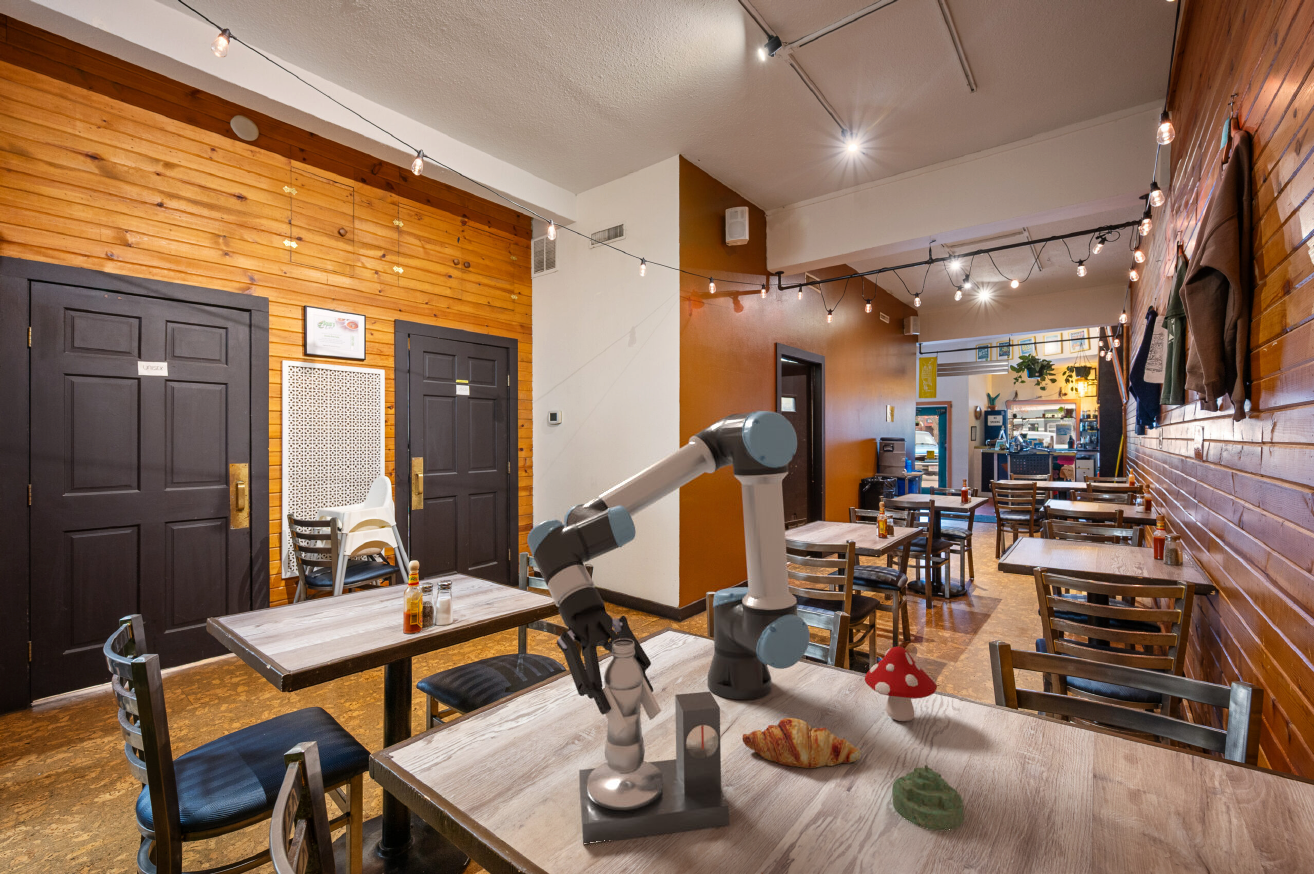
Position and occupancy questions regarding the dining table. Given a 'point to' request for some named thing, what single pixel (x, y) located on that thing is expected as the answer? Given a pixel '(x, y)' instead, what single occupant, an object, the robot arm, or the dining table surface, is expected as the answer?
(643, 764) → the scale pan
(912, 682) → the decorative mushroom
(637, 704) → the plastic bottle
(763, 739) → the croissant
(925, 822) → the decorative artifact
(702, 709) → the scale
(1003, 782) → the dining table surface
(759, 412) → the robot arm
